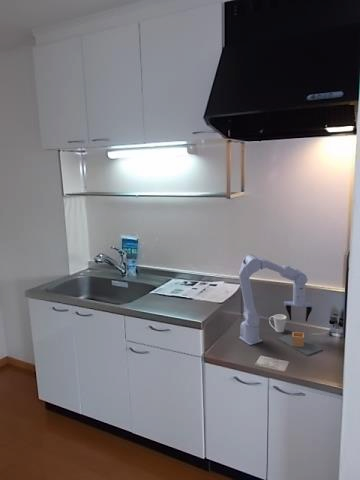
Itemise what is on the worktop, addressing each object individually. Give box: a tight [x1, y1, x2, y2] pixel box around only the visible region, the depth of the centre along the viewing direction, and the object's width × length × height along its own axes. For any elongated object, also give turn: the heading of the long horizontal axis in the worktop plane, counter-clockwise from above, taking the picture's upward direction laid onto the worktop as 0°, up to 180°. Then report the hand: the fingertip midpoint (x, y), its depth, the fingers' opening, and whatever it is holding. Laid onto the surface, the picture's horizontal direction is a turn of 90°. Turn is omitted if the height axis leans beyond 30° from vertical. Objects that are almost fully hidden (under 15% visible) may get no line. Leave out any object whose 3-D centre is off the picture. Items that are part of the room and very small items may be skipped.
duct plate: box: [277, 333, 324, 357], centre depth 186 cm, size 20×10×3 cm, turn 28°
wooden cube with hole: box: [292, 331, 305, 347], centre depth 185 cm, size 5×5×5 cm
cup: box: [268, 313, 287, 333], centre depth 202 cm, size 7×10×8 cm
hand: (298, 320), depth 192 cm, fingers open, 7 cm apart
